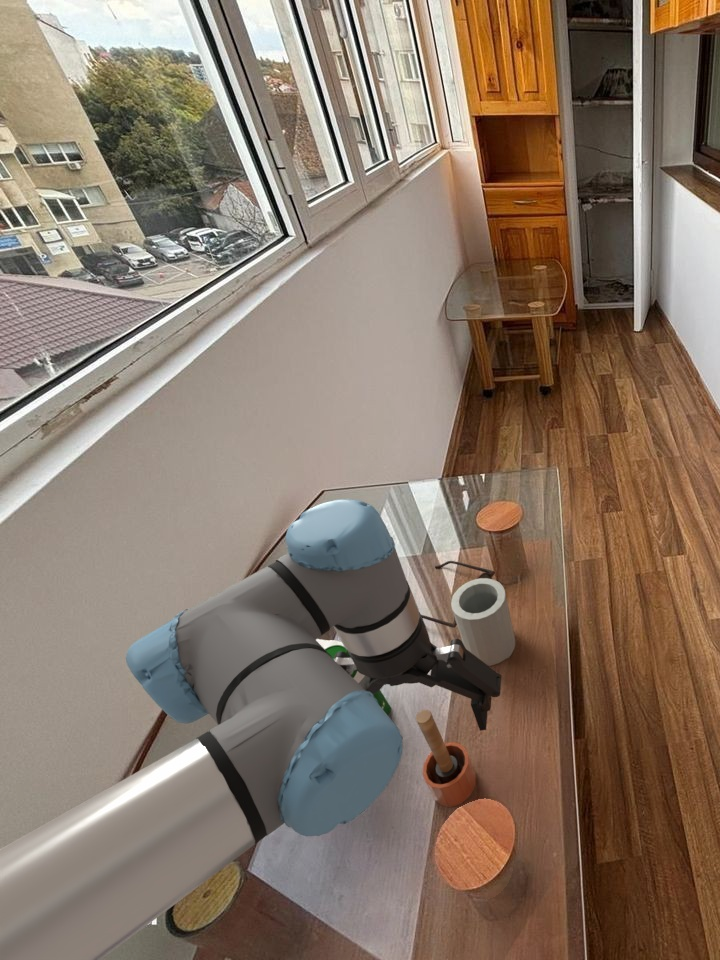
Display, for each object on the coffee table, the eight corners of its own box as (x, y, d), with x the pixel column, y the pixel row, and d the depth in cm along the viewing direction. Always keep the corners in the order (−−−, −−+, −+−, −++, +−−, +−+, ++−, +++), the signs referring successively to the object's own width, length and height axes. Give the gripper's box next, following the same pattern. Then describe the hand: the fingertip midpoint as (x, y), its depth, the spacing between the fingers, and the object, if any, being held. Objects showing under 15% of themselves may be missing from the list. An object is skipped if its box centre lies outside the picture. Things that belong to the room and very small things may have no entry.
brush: (454, 799, 75) (421, 732, 63) (440, 787, 76) (405, 719, 64) (469, 780, 77) (441, 712, 65) (455, 769, 78) (425, 700, 66)
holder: (453, 817, 74) (443, 797, 69) (424, 792, 76) (413, 771, 72) (485, 778, 78) (477, 757, 73) (456, 755, 80) (447, 734, 76)
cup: (491, 676, 91) (477, 628, 83) (455, 652, 95) (439, 604, 86) (525, 640, 97) (516, 591, 89) (490, 619, 101) (479, 570, 93)
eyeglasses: (457, 635, 98) (452, 619, 95) (392, 615, 101) (385, 599, 98) (497, 580, 109) (493, 564, 106) (437, 564, 112) (432, 547, 109)
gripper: (506, 588, 58) (528, 688, 71) (270, 611, 55) (338, 711, 68) (502, 645, 52) (526, 742, 65) (237, 674, 49) (318, 770, 62)
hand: (430, 727), depth 66 cm, fingers open, 13 cm apart
